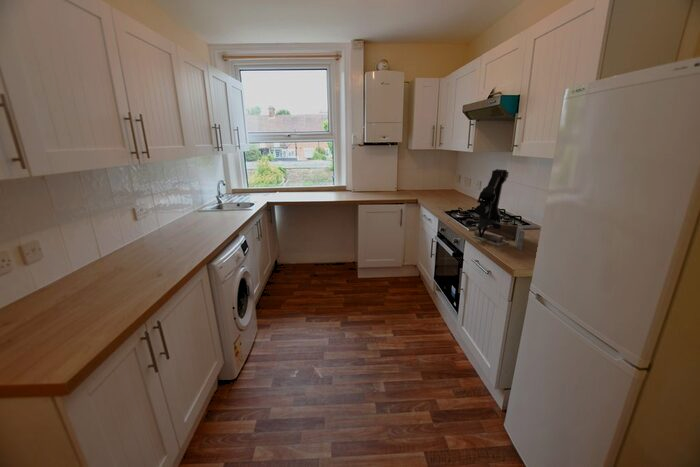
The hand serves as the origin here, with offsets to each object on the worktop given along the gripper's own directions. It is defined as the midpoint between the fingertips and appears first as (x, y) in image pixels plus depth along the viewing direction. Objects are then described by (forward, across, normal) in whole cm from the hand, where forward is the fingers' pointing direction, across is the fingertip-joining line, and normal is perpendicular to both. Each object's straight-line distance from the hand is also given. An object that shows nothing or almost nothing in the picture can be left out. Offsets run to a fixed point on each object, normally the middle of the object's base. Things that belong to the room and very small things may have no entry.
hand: (480, 237), depth 180 cm
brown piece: (+2, +10, +2) cm, 10 cm away
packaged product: (+2, +5, +3) cm, 6 cm away
